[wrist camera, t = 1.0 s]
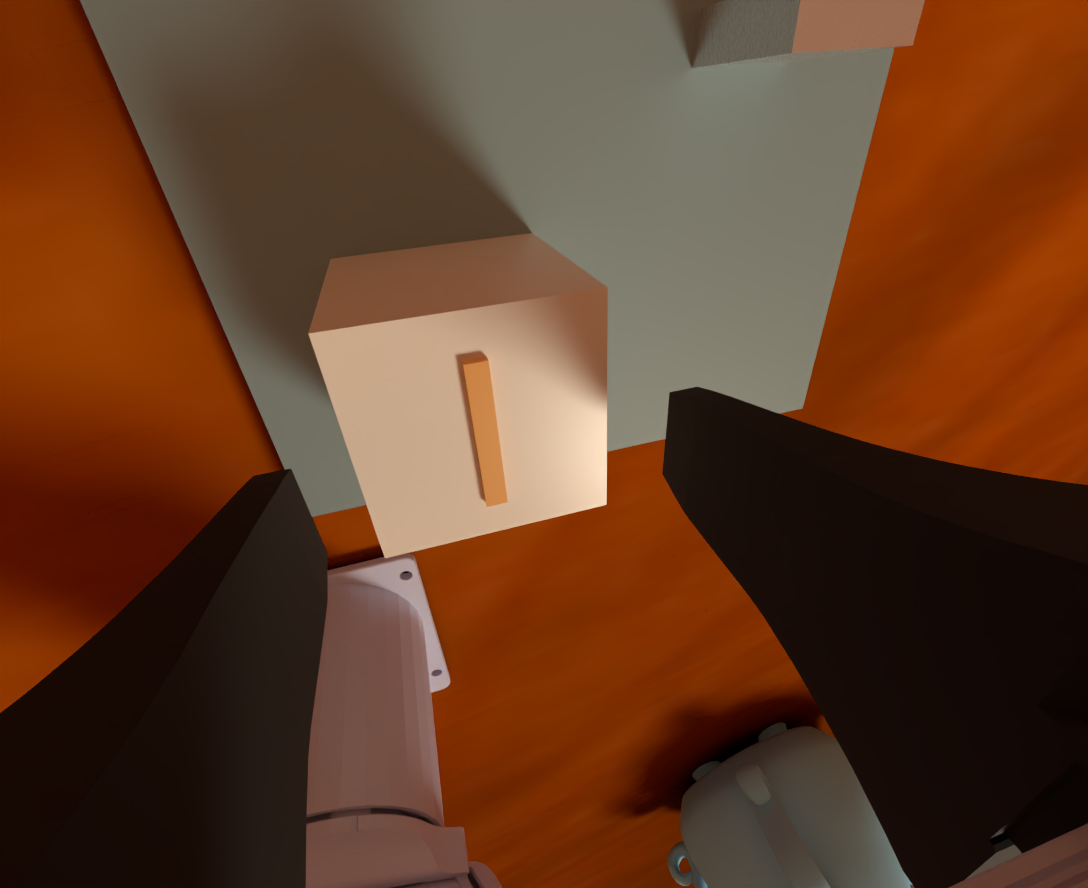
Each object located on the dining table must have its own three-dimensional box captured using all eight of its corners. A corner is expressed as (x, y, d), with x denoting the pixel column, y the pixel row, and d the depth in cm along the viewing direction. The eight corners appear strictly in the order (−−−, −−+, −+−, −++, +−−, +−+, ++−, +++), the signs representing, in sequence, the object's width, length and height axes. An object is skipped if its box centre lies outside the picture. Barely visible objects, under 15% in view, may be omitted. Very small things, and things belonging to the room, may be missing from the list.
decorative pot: (758, 802, 51) (865, 990, 40) (630, 822, 44) (716, 1056, 33) (861, 702, 45) (1023, 894, 34) (729, 707, 38) (878, 951, 27)
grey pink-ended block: (788, 62, 14) (911, 45, 11) (691, 68, 14) (791, 52, 10) (798, 5, 13) (933, -30, 10) (696, 9, 13) (805, -27, 10)
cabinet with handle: (532, 232, 15) (611, 290, 10) (544, 402, 18) (609, 509, 13) (330, 258, 14) (307, 337, 9) (381, 434, 17) (384, 564, 12)
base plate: (784, 395, 22) (802, 408, 21) (309, 497, 18) (306, 518, 18) (916, -192, 13) (961, -217, 12) (3, -236, 9) (-42, -279, 8)
